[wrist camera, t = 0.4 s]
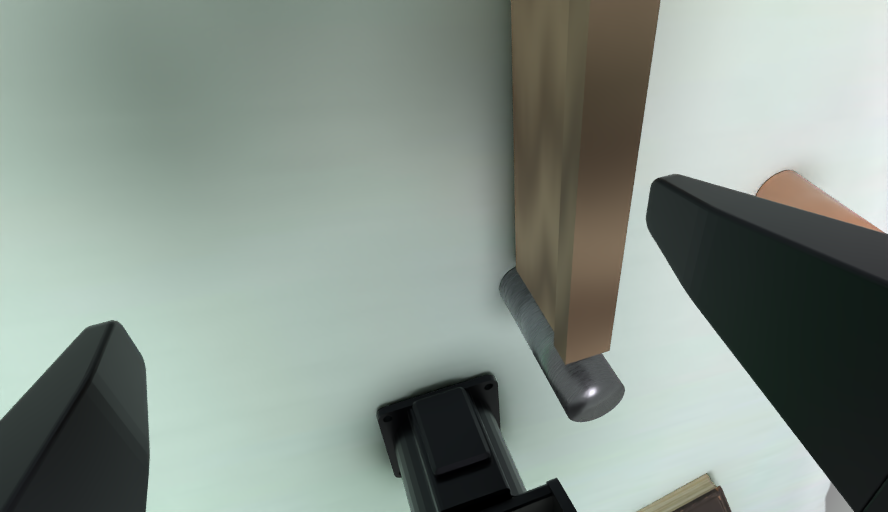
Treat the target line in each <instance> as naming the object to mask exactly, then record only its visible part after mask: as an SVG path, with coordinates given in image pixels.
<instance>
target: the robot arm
mask: <svg viewBox="0 0 888 512" xmlns="http://www.w3.org/2000/svg"><path fill="white" fill-rule="evenodd" d="M646 223H647V227H648V229H649V231H650V233H651V235H652V237H653V238H654V240H655V241H656V243H657V245H658V246H659V248H660V250H661V251H662V253H663V255H664V256H665V258H666V260H667V261H668V263H669V265H670V266H671V268H672V270H673V271H674V273H675V275H676V276H677V278H678V280H679V281H680V283H681V285H682V286H683V288H684V289H685V291H686V292H687V294H688V295H689V297H690V298H691V299H692V301H693V302H694V304H695V305H696V306H697V308H698V309H699V310H700V312H701V313H702V314H703V315H704V317H705V318H706V319H707V321H708V322H709V323H710V325H711V326H712V327H713V328H714V330H715V331H716V332H717V334H718V335H719V336H720V338H721V339H722V340H723V341H724V343H725V344H726V345H727V347H728V348H729V349H730V351H731V352H732V353H733V354H734V356H735V357H736V358H737V360H738V361H739V362H740V364H741V365H742V366H743V368H744V369H745V370H746V371H747V373H748V374H749V375H750V377H751V378H752V379H753V381H754V382H755V383H756V384H757V386H758V387H759V388H760V390H761V391H762V392H763V394H764V395H765V396H766V397H767V399H768V400H769V401H770V403H771V404H772V405H773V407H774V408H775V409H776V410H777V412H778V413H779V414H780V416H781V417H782V418H783V420H784V421H785V422H786V424H787V425H788V426H789V427H790V429H791V430H792V431H793V433H794V434H795V435H796V437H797V438H798V439H799V440H800V442H801V443H802V444H803V446H804V447H805V448H806V450H807V451H808V452H809V453H810V455H811V456H812V457H813V459H814V460H815V461H816V463H817V464H818V465H819V467H820V468H821V469H822V470H823V472H824V473H825V474H826V476H827V477H828V478H829V480H830V481H831V482H832V483H833V485H834V486H835V487H836V488H837V490H838V491H839V493H840V494H841V495H842V496H843V498H844V499H845V500H846V502H847V503H848V504H849V506H850V507H851V508H852V509H853V511H854V512H888V234H886V233H883V232H879V231H876V230H872V229H868V228H865V227H861V226H858V225H854V224H851V223H847V222H844V221H840V220H837V219H833V218H830V217H826V216H823V215H819V214H816V213H812V212H809V211H805V210H802V209H798V208H795V207H791V206H788V205H784V204H781V203H777V202H774V201H770V200H767V199H763V198H760V197H756V196H753V195H749V194H746V193H742V192H739V191H735V190H732V189H728V188H725V187H721V186H718V185H714V184H711V183H707V182H704V181H700V180H697V179H693V178H690V177H686V176H683V175H679V174H672V175H668V176H664V177H660V178H657V179H655V180H654V181H653V183H652V184H651V188H650V194H649V201H648V207H647V213H646ZM377 419H378V423H379V426H380V429H381V433H382V436H383V439H384V442H385V446H386V449H387V452H388V455H389V459H390V462H391V465H392V468H393V472H394V475H395V476H396V477H398V478H402V480H403V483H404V487H405V491H406V495H407V498H408V502H409V506H410V510H411V512H577V511H576V509H575V507H574V506H573V504H572V502H571V501H570V499H569V497H568V496H567V494H566V492H565V490H564V489H563V487H562V485H561V484H560V482H559V480H558V479H557V478H555V479H552V480H549V481H547V482H546V483H547V484H545V485H542V486H540V487H537V488H535V489H532V490H529V491H526V489H525V486H524V484H523V482H522V479H521V477H520V475H519V473H518V470H517V468H516V466H515V463H514V461H513V459H512V456H511V454H510V452H509V450H508V447H507V445H506V443H505V440H504V438H503V436H502V434H501V431H500V415H499V398H498V383H497V381H496V379H495V377H494V376H493V375H484V376H481V377H478V378H475V379H472V380H469V381H465V382H462V383H459V384H456V385H453V386H449V387H446V388H443V389H440V390H437V391H434V392H430V393H427V394H424V395H421V396H418V397H414V398H411V399H408V400H405V401H402V402H399V403H395V404H392V405H389V406H386V407H383V408H381V409H380V410H378V412H377ZM149 459H150V450H149V425H148V405H147V385H146V368H145V363H144V360H143V357H142V355H141V353H140V352H139V350H138V349H137V347H136V346H135V344H134V343H133V341H132V339H131V338H130V336H129V335H128V333H127V332H126V330H125V329H124V327H123V326H122V325H121V324H120V323H119V322H118V321H114V320H111V321H107V322H103V323H99V324H96V325H92V326H89V327H87V328H86V329H84V330H83V331H82V332H81V334H80V335H79V336H78V337H77V338H76V339H75V340H74V341H73V342H72V343H71V344H70V345H69V347H68V348H67V349H66V350H65V351H64V352H63V353H62V354H61V355H60V356H59V357H58V358H57V360H56V361H55V362H54V363H53V364H52V365H51V366H50V367H49V368H48V369H47V370H46V371H45V373H44V374H43V375H42V376H41V377H40V378H39V379H38V380H37V381H36V382H35V383H34V384H33V386H32V387H31V388H30V389H29V390H28V391H27V392H26V393H25V394H24V395H23V396H22V397H21V399H20V400H19V401H18V402H17V403H16V404H15V405H14V406H13V407H12V408H11V409H10V410H9V412H8V413H7V414H6V415H5V416H4V417H3V418H2V419H1V420H0V512H146V501H147V488H148V476H149Z"/></svg>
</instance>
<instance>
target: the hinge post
mask: <svg viewBox="0 0 888 512" xmlns="http://www.w3.org/2000/svg"><path fill="white" fill-rule="evenodd" d="M499 290H500V294H501V296H502V298H503V300H504V301H505V303H506V305H507V307H508V309H509V311H510V312H511V314H512V316H513V318H514V320H515V321H516V323H517V325H518V327H519V329H520V331H521V332H522V334H523V336H524V338H525V340H526V341H527V343H528V345H529V347H530V349H531V350H532V352H533V354H534V356H535V358H536V360H537V361H538V363H539V365H540V367H541V369H542V370H543V372H544V374H545V376H546V378H547V379H548V381H549V383H550V385H551V387H552V389H553V390H554V392H555V394H556V396H557V398H558V399H559V401H560V403H561V405H562V407H563V409H564V410H565V412H566V414H567V416H568V417H569V419H571V420H572V421H576V422H586V421H590V420H594V419H596V418H599V417H601V416H603V415H605V414H606V413H608V412H609V411H611V410H612V409H613V408H614V407H615V406H616V405H617V404H618V403H619V402H620V401H621V399H622V398H623V395H624V392H625V389H624V386H623V384H622V383H621V381H620V380H619V378H618V377H617V375H616V374H615V372H614V371H613V369H612V368H611V366H610V365H609V363H608V362H607V360H606V359H605V357H604V356H603V354H602V353H601V354H598V355H594V356H591V357H588V358H585V359H582V360H579V361H576V362H572V363H569V364H566V365H565V363H564V362H563V360H562V358H561V357H560V355H559V353H558V352H557V350H556V348H555V347H554V331H553V329H552V328H551V326H550V324H549V323H548V321H547V319H546V318H545V316H544V314H543V313H542V311H541V310H540V308H539V306H538V305H537V303H536V301H535V300H534V298H533V296H532V295H531V293H530V291H529V290H528V288H527V287H526V285H525V283H524V282H523V280H522V278H521V277H520V275H519V273H518V272H517V270H516V267H515V268H513V269H512V270H510V271H509V272H508V273H507V274H506V275H505V276H504V278H503V279H502V281H501V283H500V288H499Z"/></svg>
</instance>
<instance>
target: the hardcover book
mask: <svg viewBox="0 0 888 512" xmlns="http://www.w3.org/2000/svg"><path fill="white" fill-rule="evenodd" d="M637 512H731V509H730V507H729V505H728V502H727V500H726V497H725V495H724V492H723V490H722V488H721V486H718V487H716V486H715V485H714V483H713V482H712V481H711V480H710V478H709V475H707V473H706V474H705V475H703V476H701V477H699V478H697V479H695V480H694V481H692V482H690V483H688V484H686V485H684V486H683V487H681V488H679V489H677V490H675V491H674V492H672V493H670V494H668V495H666V496H664V497H663V498H661V499H659V500H657V501H655V502H653V503H652V504H650V505H648V506H646V507H644V508H643V509H641V510H639V511H637Z"/></svg>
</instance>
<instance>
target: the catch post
mask: <svg viewBox="0 0 888 512" xmlns="http://www.w3.org/2000/svg"><path fill="white" fill-rule="evenodd" d="M756 197H760V198H763V199H767V200H770V201H774V202H777V203H781V204H784V205H788V206H791V207H795V208H798V209H802V210H805V211H809V212H812V213H816V214H819V215H823V216H826V217H830V218H833V219H837V220H840V221H844V222H847V223H851V224H854V225H858V226H861V227H865V228H868V229H872V230H876V231H879V232H883V231H881V230H880V229H878V228H877V227H875V226H874V225H872V224H871V223H869V222H868V221H866V220H865V219H864V218H862V217H861V216H859V215H858V214H856V213H855V212H853V211H852V210H850V209H849V208H847V207H846V206H844V205H843V204H841V203H840V202H839V201H837V200H836V199H834V198H833V197H831V196H830V195H828V194H827V193H825V192H824V191H822V190H821V189H819V188H818V187H817V186H815V185H814V184H812V183H811V182H809V181H808V180H806V179H805V178H803V177H802V176H800V175H799V174H797V173H796V172H794V171H791V170H787V171H783V172H780V173H778V174H776V175H774V176H773V177H771V178H770V179H769V180H768V181H766V182H765V183H764V184H763V186H762V187H761V188H760V190H759V191H758V193H757V195H756ZM883 233H884V232H883Z"/></svg>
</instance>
